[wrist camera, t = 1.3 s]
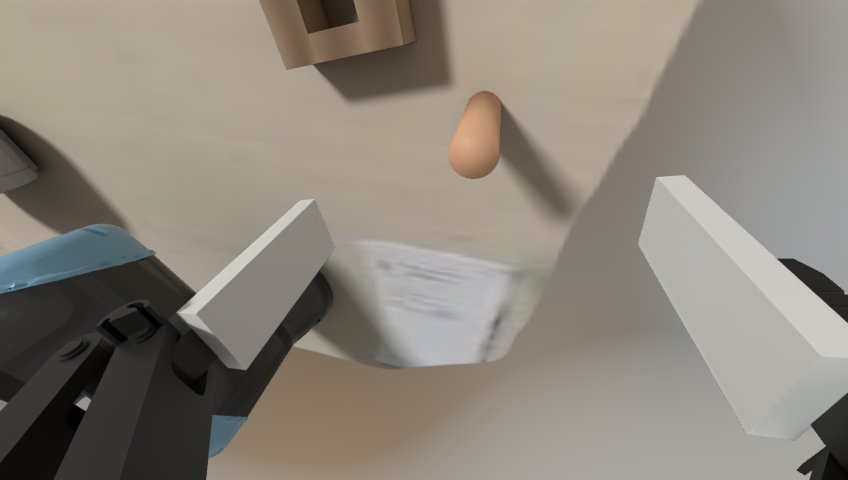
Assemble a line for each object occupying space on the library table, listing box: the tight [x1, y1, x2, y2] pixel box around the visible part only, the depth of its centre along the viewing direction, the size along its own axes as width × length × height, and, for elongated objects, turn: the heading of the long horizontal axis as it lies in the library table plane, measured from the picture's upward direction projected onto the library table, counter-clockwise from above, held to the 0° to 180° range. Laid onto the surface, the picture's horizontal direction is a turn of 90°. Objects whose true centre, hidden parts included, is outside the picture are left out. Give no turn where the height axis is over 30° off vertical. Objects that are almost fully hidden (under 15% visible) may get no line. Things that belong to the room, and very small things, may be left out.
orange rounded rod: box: [449, 91, 501, 179], centre depth 22 cm, size 3×3×11 cm
